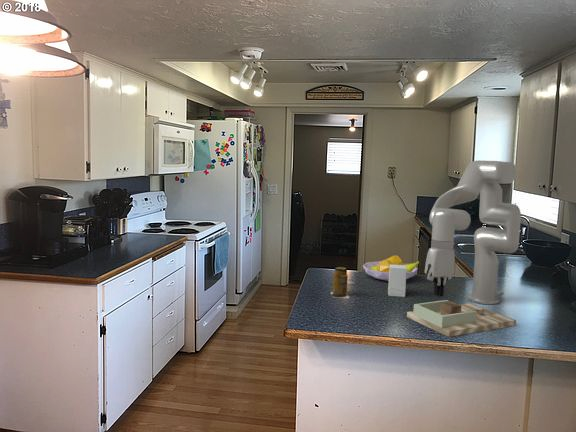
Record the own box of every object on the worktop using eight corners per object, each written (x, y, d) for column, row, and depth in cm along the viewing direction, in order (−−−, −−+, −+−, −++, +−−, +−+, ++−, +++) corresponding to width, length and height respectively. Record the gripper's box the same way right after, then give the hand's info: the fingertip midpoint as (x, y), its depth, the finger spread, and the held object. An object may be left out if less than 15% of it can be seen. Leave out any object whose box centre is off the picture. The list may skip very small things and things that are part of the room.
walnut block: (450, 314, 182) (451, 301, 182) (460, 318, 178) (461, 305, 177) (440, 316, 180) (441, 303, 180) (450, 320, 176) (451, 307, 175)
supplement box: (405, 297, 211) (407, 268, 210) (387, 295, 213) (389, 267, 211) (404, 292, 218) (406, 265, 217) (387, 291, 220) (389, 263, 218)
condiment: (346, 293, 215) (347, 266, 214) (349, 298, 207) (350, 270, 206) (330, 292, 215) (331, 266, 214) (332, 298, 207) (333, 270, 205)
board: (469, 308, 198) (470, 303, 198) (515, 325, 178) (516, 320, 178) (406, 317, 184) (407, 311, 184) (448, 337, 165) (449, 331, 164)
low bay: (446, 310, 188) (446, 299, 187) (476, 322, 174) (477, 311, 174) (413, 314, 181) (413, 304, 181) (441, 327, 168) (442, 316, 167)
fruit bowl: (351, 275, 249) (352, 253, 247) (392, 270, 262) (393, 249, 261) (388, 288, 225) (389, 264, 223) (431, 282, 238) (432, 259, 236)
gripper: (450, 242, 179) (446, 291, 181) (418, 244, 173) (414, 294, 175) (465, 246, 173) (461, 296, 175) (433, 247, 166) (429, 300, 168)
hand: (438, 295), depth 175 cm, fingers closed
